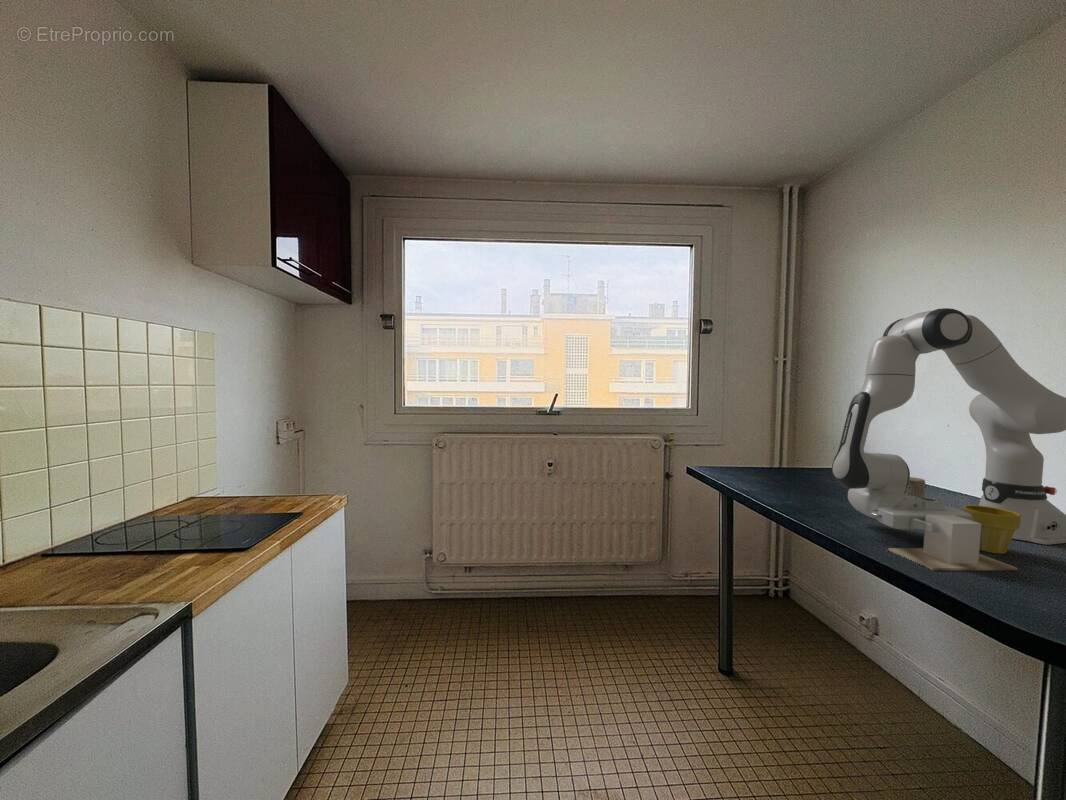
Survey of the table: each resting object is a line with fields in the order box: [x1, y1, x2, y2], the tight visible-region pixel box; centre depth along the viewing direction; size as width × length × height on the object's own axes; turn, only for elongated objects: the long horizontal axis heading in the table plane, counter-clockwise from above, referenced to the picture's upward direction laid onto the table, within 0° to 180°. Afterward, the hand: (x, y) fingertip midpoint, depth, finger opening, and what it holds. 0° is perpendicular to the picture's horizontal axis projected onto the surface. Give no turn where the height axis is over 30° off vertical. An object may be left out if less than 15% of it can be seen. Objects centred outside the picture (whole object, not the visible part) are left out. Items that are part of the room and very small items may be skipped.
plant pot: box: [961, 504, 1021, 555], centre depth 120 cm, size 10×10×10 cm
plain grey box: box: [922, 515, 981, 563], centre depth 112 cm, size 7×7×9 cm
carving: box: [905, 476, 926, 498], centre depth 146 cm, size 6×8×12 cm
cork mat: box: [887, 547, 1019, 571], centre depth 112 cm, size 20×12×1 cm, turn 94°
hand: (954, 528), depth 111 cm, fingers open, 8 cm apart
